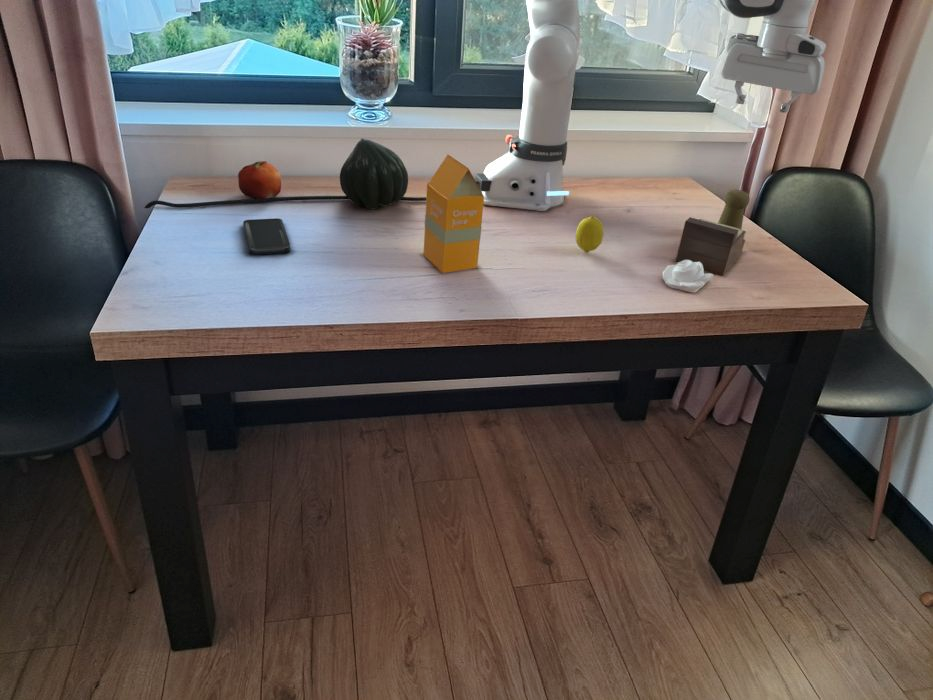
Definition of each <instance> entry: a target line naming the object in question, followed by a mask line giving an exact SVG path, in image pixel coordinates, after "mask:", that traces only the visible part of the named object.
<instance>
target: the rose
mask: <svg viewBox="0 0 933 700" xmlns="http://www.w3.org/2000/svg"><path fill="white" fill-rule="evenodd" d="M713 278H714V273H712V272H706V273H705V270H704V268H703V265H702V263H701V262H692V261H690V260H683V261H681V262H679V263H678V262H677V263H676V264H675V265H674V264H669V265H667V266H666V268H665V269H663V271H662V279H663V281H664V284H665V285H667V286H668V288H671V289H677V290H681V291H684V292H687V293H697V291H699V290H701V288H703V286H705V285H706V283H708V282H709V281H710V280H712V279H713Z"/></svg>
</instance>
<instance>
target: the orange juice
mask: <svg viewBox="0 0 933 700" xmlns="http://www.w3.org/2000/svg"><path fill="white" fill-rule="evenodd" d="M446 154H447V155H446V156H445V158H444V159H443V161H441V164H440V165H439V167H438V168H437V169H436V171H435V173H434V174H433V176H432V177H431V178H430V180H429V181H428V183H427V184H426V197H427V199H426V201H425V202H426V203H425V215H424V236H423V237H424V238H423V239H424V240H423V256H424V257H425V258H426V259H427V260H428V261H429V262H430V263H431V264H433V266H435V268H437V269H438V270H439V271H440V272H441V273H442V274H445V273H446V274H447V273H453V272H459V271H466V270H472V269H478V263H479V253H480V245H481V244H480V242H481V236H482V221H483V212H484V205H483V202H484V197H485V196H484V195H483V193H482V191H481V189H480V188H479V186H478V184H477V182H476V181H475V178H474V177H475V176H473V174H472V172H471V170H470V169H469V167H467V166H466V165H465V164H463V163H461V162H460V161H458V160H457V159H455V158H454V157H452V156H451V155H450V154H448V153H446Z"/></svg>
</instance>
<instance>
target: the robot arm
mask: <svg viewBox="0 0 933 700" xmlns="http://www.w3.org/2000/svg"><path fill="white" fill-rule="evenodd" d="M816 1H817V0H719V3H720V5H721V6H722V7H723V9H725V10H726V11H727V12H729V13H730V14H731V15H733V16H734V17H736V18H739V19H752V18H759V17H760V18H761V17H763V19H762V21H761V22H762V23H761V27H760V31H759V33H758V35H754V34H745V33H740V32H739V33H737V34H733V35H732V36H731V37H730V38H729V39H728V41H727V45H726V53H727V54H726V56H725V58H724V60H723V64H722V67H721V70H720V75H721V78H722V79H724V80H729V81H735V83H734V90H735V93H736V100H735V104H737V105H744V104H745V103H746V100H745V99H746V97H747V95H746V94H743V90H742V87H744V86H745V84H750V85H751V84H752V85H755V86H761V87H766V88H773V89H777V90H783V91H787V92H790V95H789V96H790V99H789V100H788V102H782V103H781V106H780V108H779V113H783V114H788V113H789V111H790V108H791V105H792V104H793V103H794V102H795V101H796V100H797V99H798V98H799V96H800V94H804V95H814V94H817V93H818V92H819V91H820V89H821V85H822V82H823V78H824V73H825V65H826V61H825V57H823V54H824V53H825V51H826V48H827V44H826V43H825V42H824V41H823V40H820V39H818V38H817V37H815V36H812V35H811V34H808V33H807V31H808V28H809V23H810V22H809V18H810V14H811V11H812V9H813V8H814V6H815V4H816ZM525 4H526V10H527V16H528V25H529V34H530V40H529V42H528V44H527V46H526V50H525V58H524V71H523V85H522V86H523V89H522V106H521V113H520V123H519V132H518V135H517V136H515V137H514V135H512V134H507V135H506V136H505V138H504V139H505V142H506V144H507V145H508V151H507V152H506V153H505V154H503V155H501V156H500V157H498V158H496V159H495V160H493V161H492V162H490V163H489V164H487V166H486V167H485V169H484V171H483V173H475V175H474V177H475V178H474V179H475V181H476V182H477V184H478V186H479V188H480V189H481V191H482V193H483V195H484V196H485V197H484V202H483V206H491V207H499V208H500V207H501V208H510V209H520V210H529V211H540V212H545V211H547V210H549V209H550V208H552V207H557V206H559V205H561V204H563V203H564V201H565V196H569V195H570V191H569V190H564V184H563V178H564V177H563V173H564V166H565V163H566V159H567V153H568V152H567V151H568V141H567V136H568V129H569V123H570V115H571V109H572V101H573V93H574V86H575V85H574V83H575V77H576V69H577V63H578V60H579V55H580V52H581V47H582V46H581V45H582V44H581V29H580V12H579V0H525ZM426 199H427V196H403V198H402V199H400V200H399V201H406V202H407V201H409V202H426ZM316 200H317V201H319V200H321V201H322V200H323V201H324V200H325V201H327V200H350V199H349V198H348V197H347V196H346V195H302V196H276V197H274V198H267V199H254V198H244V199H241V198H240V199H228V200H227V199H226V200H215V201H203V202H202V201H201V202H191V203H189V202H188V203H173V202H169V201H164V200H152V201H150V202H148V203H147V204H146V205H145V206H144V207H143V208H144V209H150V208H151V207H153V206H156V205H161V206H166V207H169V208H175V209H176V208H177V209H178V208H179V209H180V208H181V209H182V208H197V207H209V206H223V205H239V204H251V203H266V202H267V203H269V202H289V201H316Z"/></svg>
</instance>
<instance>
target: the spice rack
mask: <svg viewBox="0 0 933 700" xmlns="http://www.w3.org/2000/svg"><path fill="white" fill-rule="evenodd" d="M745 236H746V230H744V229H738V228H735V227H731V226H727V225H723V224H720V223H718V222H716V221H712V220H708V219H704V218H695V217H690V216H689V217H688V218H687V219H686V220H685V221H684V225H683V228H682V234H681V237H680V241H679V245H678V250H677V253H676V257H675V263H677V264H678V263H679V262H681V261H683V260H690V261H692V262H701V263H702V265H703V268H704V272H707V273H711V274H715V275H718V276H724V275H725V274H726V273H727V272H728V270H729V269H730V268H731V267H732V265H733V264H734V263H735V262H736V261H737V259H738V258H739V257H740V255H741V254H742V253H743V250H744V246H745V243H746V239H744V238H745Z"/></svg>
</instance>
